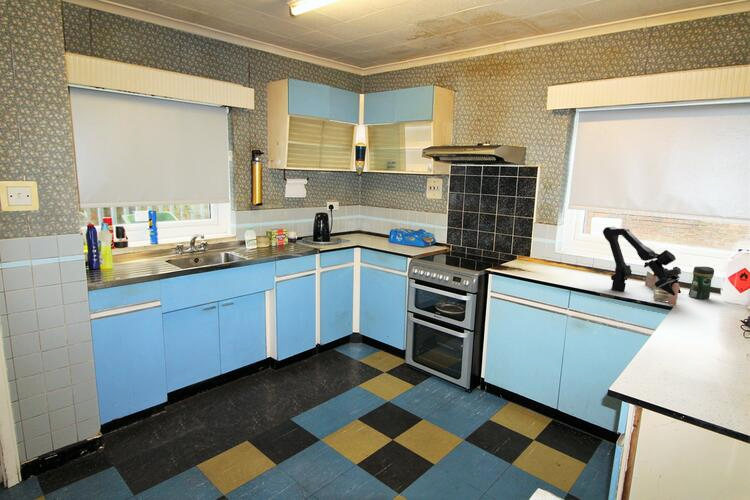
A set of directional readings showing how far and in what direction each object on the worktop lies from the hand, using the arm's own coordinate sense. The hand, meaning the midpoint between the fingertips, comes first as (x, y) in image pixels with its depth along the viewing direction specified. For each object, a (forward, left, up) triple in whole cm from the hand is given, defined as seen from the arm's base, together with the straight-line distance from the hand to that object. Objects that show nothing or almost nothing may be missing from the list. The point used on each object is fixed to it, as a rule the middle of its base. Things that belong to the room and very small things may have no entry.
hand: (677, 294), depth 232 cm
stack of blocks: (-7, +30, -7) cm, 31 cm away
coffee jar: (+13, +28, -7) cm, 31 cm away
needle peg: (-1, +1, -7) cm, 7 cm away
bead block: (-5, +9, -7) cm, 12 cm away
